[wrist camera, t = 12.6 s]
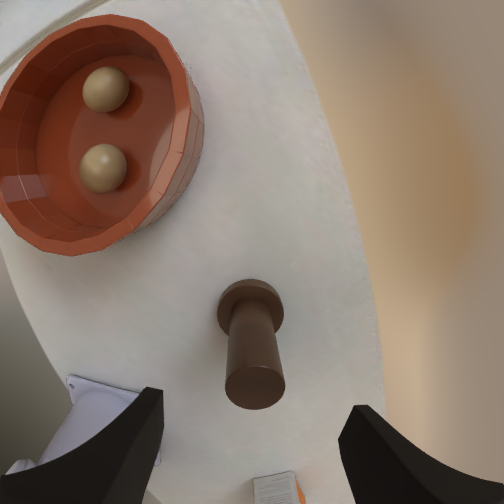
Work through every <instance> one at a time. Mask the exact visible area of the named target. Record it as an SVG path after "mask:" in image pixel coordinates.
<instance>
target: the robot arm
mask: <svg viewBox="0 0 504 504" xmlns="http://www.w3.org/2000/svg"><path fill="white" fill-rule="evenodd" d="M66 381H67V385H68V390H69V394H70V398H71V402H72V406H73V407H72V408H71V410H70V411H69V413H68V414H67V416H66V418H65V419H64V421H63V422H62V424H61V426H60V427H59V429H58V430H57V432H56V433H55V435H54V437H53V438H52V440H51V442H50V443H49V445H48V447H47V448H46V450H45V452H44V453H43V455H42V457H41V458H40V460H39V462H38V463H37V464H35V463H34V462H32V461H31V460H30V459H27V460H18V461H17V462H16V463H15V464H14V465H13V466H12V467H11V468H10V470H9V471H8V472H7V473H6V475H2V476H1V477H0V504H142V500H143V496H144V492H145V490H146V487H147V484H148V481H149V478H150V475H151V472H152V469H153V466H159V465H160V464H161V457H160V444H161V439H162V434H163V429H164V409H163V390H159V389H154V388H150V387H146V388H144V389H143V391H142V392H141V393H140V394H139V393H134V392H130V391H126V390H122V389H118V388H114V387H110V386H107V385H103V384H100V383H96V382H93V381H89V380H86V379H83V378H80V377H76V376H73V375H68V376H67V378H66ZM338 443H339V449H340V455H341V460H342V463H343V466H344V469H345V472H346V476H347V478H348V481H349V484H350V487H351V490H352V493H353V496H354V499H355V503H356V504H504V485H503V483H498V482H493V481H487V480H483V479H480V478H476V477H473V476H470V475H467V474H465V473H462V472H460V471H457V470H455V469H453V468H451V467H449V466H447V465H445V464H443V463H441V462H439V461H437V460H436V459H434V458H432V457H431V456H429V455H427V454H426V453H425V452H423V451H422V450H420V449H419V448H418V447H416V446H415V445H414V444H412V443H411V442H410V441H409V440H407V439H406V438H405V437H404V436H402V435H401V434H400V433H399V432H398V431H397V430H395V429H394V428H393V427H392V426H391V425H390V424H389V423H388V422H386V421H385V420H384V419H383V418H382V417H381V416H380V415H379V414H378V413H377V412H375V411H374V410H373V409H372V408H371V407H370V406H368V405H354V406H353V409H352V411H351V413H350V415H349V417H348V419H347V422H346V424H345V426H344V428H343V430H342V432H341V434H340V436H339V438H338Z"/></svg>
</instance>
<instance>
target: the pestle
mask: <svg viewBox="0 0 504 504" xmlns="http://www.w3.org/2000/svg"><path fill="white" fill-rule="evenodd" d="M217 317H218V322H219V325H220V327H221V329H222V330H223V331H224V332H225V334H226V335H228V336H229V340H228V353H227V366H226V380H225V391H226V394H227V396H228V398H229V399H230V400H231V401H232V402H233V403H234V404H235V405H237V406H239V407H241V408H245V409H250V410H258V409H264V408H267V407H270V406H272V405H274V404H275V403H276V402H278V401H279V400H280V399H281V397H282V396H283V394H284V391H285V380H284V375H283V370H282V366H281V361H280V356H279V351H278V346H277V341H276V336H275V333H276V332H277V331H278V329H279V328H280V326H281V324H282V321H283V317H284V310H283V305H282V302H281V299H280V297H279V295H278V293H277V292H276V290H275V289H274V288H273V287H271V286H270V285H269V284H267V283H265V282H263V281H259V280H254V279H247V280H242V281H238V282H236V283H234V284H232V285H231V286H229V287H228V288H227V289H226V290H225V291H224V293H223V294H222V296H221V298H220V301H219V305H218V311H217Z"/></svg>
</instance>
